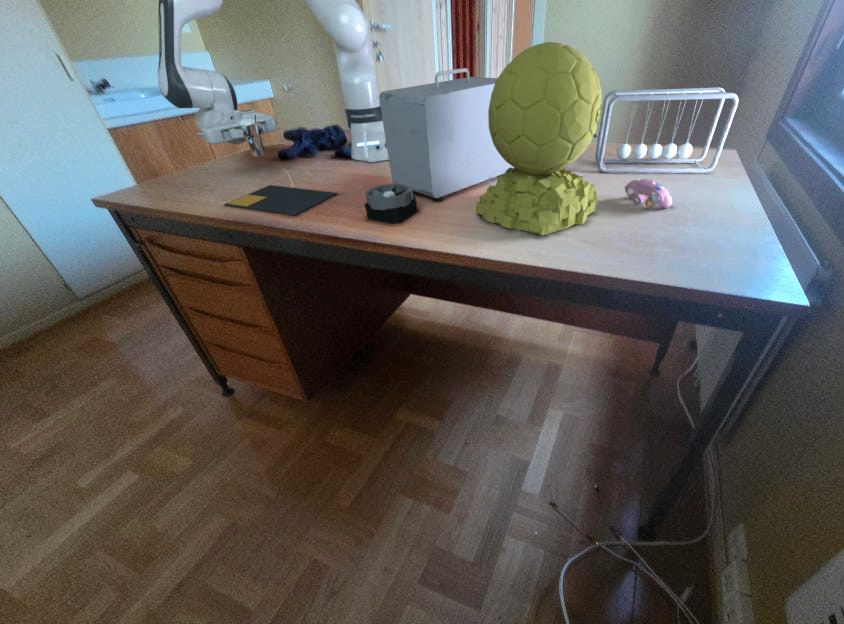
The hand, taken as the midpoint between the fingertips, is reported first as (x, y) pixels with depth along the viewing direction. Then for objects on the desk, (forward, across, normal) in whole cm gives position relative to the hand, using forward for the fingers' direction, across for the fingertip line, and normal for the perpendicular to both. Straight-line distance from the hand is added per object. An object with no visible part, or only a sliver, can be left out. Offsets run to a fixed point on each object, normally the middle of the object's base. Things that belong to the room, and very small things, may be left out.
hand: (253, 131), depth 108 cm
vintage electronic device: (+49, +28, +13) cm, 58 cm away
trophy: (+80, +20, +13) cm, 84 cm away
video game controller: (+98, +38, +13) cm, 106 cm away
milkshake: (-1, 0, +6) cm, 6 cm away
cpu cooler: (+53, +2, +13) cm, 54 cm away
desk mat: (+19, -8, +13) cm, 24 cm away
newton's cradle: (+88, +67, +14) cm, 112 cm away
